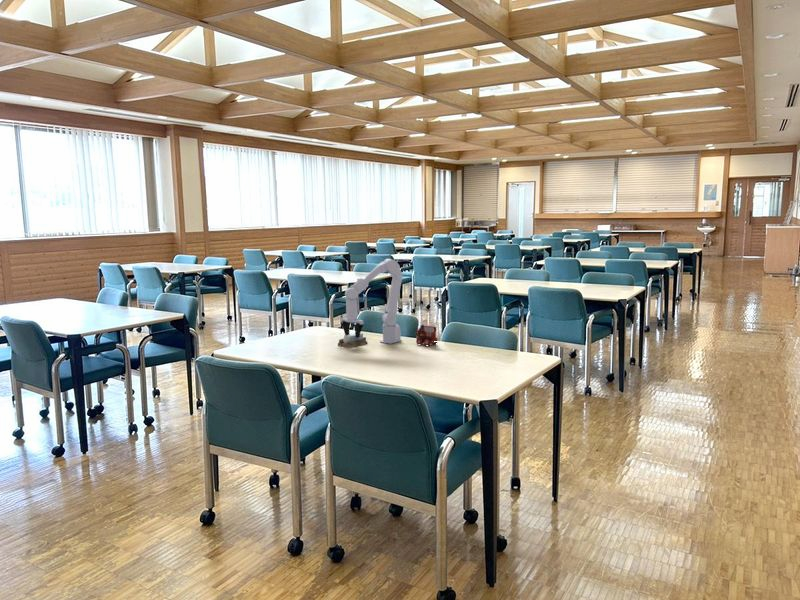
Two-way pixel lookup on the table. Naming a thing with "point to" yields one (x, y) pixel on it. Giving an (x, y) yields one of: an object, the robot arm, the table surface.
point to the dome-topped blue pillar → (351, 337)
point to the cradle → (353, 342)
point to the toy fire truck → (426, 335)
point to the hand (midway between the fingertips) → (352, 336)
